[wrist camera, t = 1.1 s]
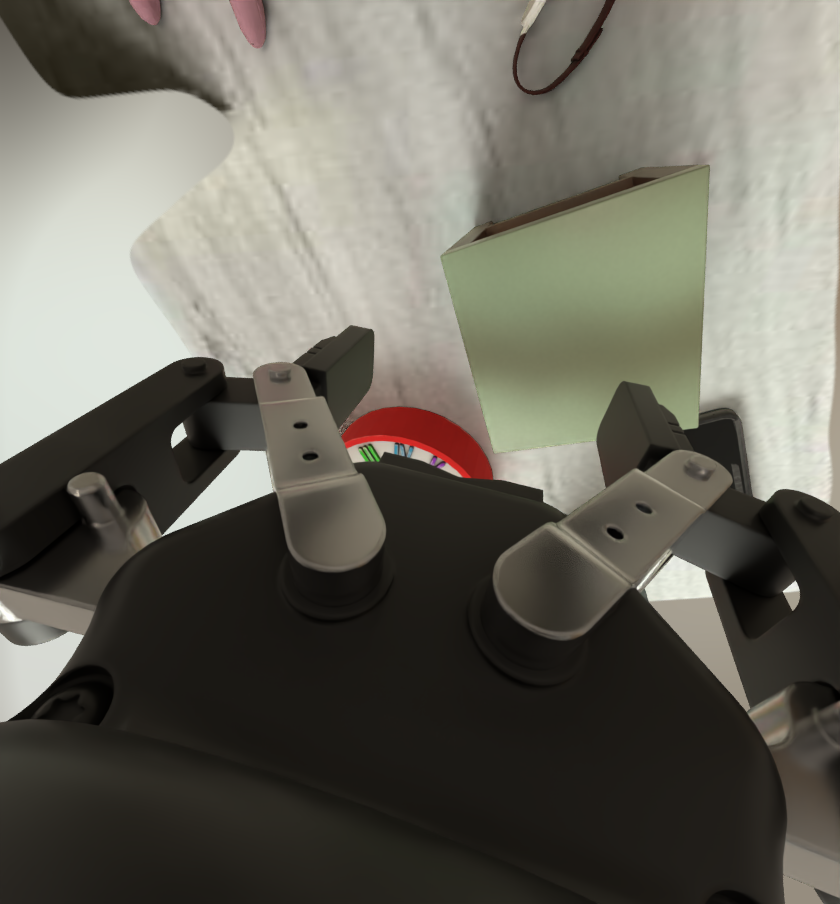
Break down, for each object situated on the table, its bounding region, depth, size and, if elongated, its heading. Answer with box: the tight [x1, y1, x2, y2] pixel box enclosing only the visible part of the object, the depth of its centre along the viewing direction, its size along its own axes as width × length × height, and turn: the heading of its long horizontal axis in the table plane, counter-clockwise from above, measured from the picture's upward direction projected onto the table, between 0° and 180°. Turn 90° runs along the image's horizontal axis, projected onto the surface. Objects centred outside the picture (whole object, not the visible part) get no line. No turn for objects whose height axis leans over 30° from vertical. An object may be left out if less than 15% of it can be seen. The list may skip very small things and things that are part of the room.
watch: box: [513, 0, 615, 95], centre depth 22 cm, size 8×5×4 cm, turn 150°
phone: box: [683, 408, 753, 497], centre depth 38 cm, size 8×1×15 cm
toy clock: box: [341, 407, 493, 480], centre depth 46 cm, size 20×6×20 cm
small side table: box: [440, 165, 710, 453], centre depth 27 cm, size 13×12×14 cm
